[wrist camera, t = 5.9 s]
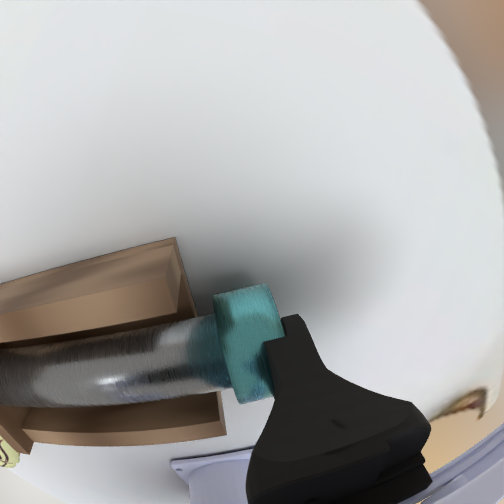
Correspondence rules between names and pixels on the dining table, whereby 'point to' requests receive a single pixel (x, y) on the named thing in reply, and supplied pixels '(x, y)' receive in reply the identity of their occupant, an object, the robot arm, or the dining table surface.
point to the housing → (97, 324)
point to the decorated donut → (8, 455)
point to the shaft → (152, 359)
